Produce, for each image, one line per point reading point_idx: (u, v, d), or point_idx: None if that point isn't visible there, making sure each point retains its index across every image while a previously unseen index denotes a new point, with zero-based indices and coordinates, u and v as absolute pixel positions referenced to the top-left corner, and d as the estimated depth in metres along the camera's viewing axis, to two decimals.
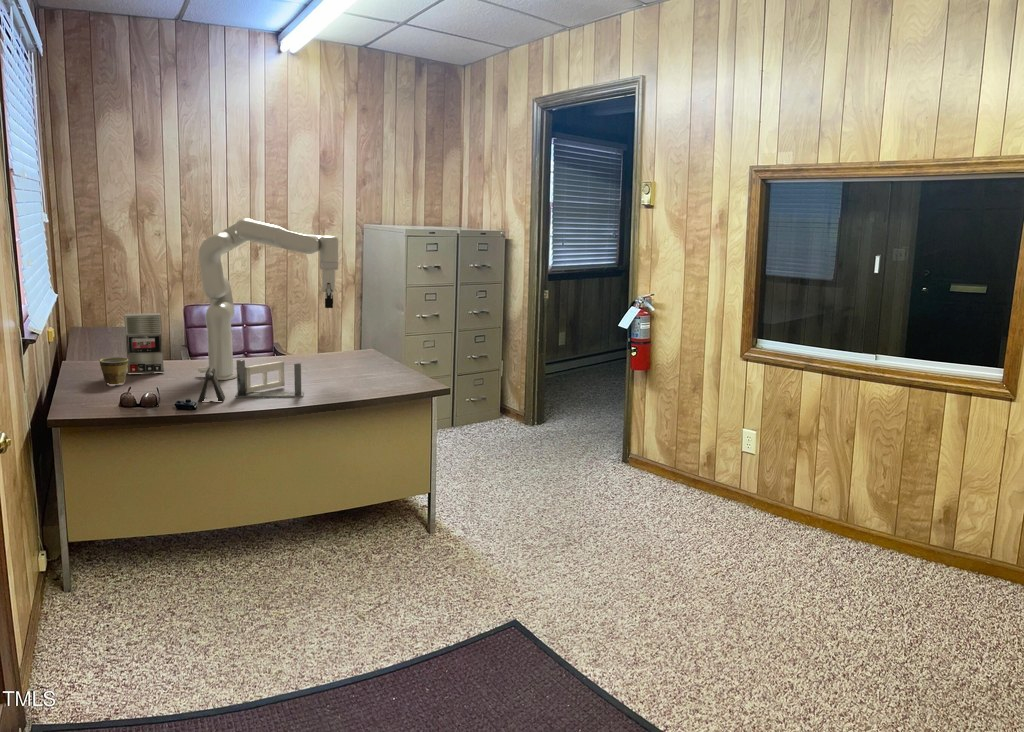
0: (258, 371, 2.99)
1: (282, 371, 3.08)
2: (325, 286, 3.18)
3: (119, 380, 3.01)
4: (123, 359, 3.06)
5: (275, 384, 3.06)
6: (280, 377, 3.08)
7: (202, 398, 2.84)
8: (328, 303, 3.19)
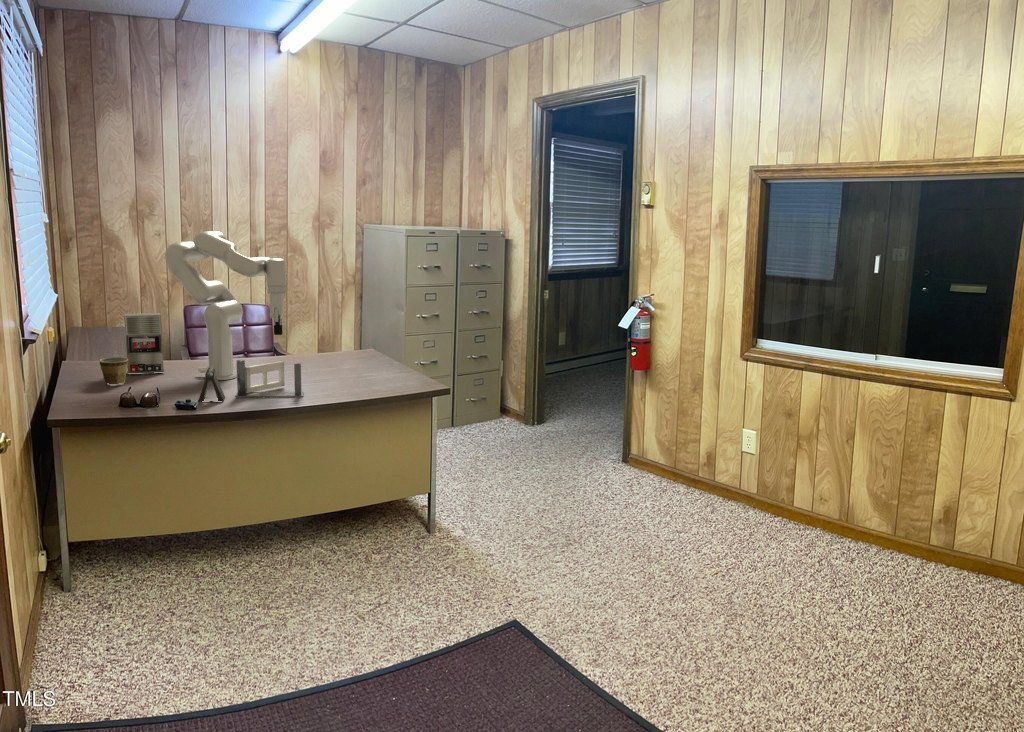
0: (258, 371, 2.99)
1: (282, 371, 3.08)
2: (272, 311, 3.04)
3: (119, 380, 3.01)
4: (123, 359, 3.06)
5: (275, 384, 3.06)
6: (280, 377, 3.08)
7: (202, 398, 2.84)
8: (277, 330, 3.10)
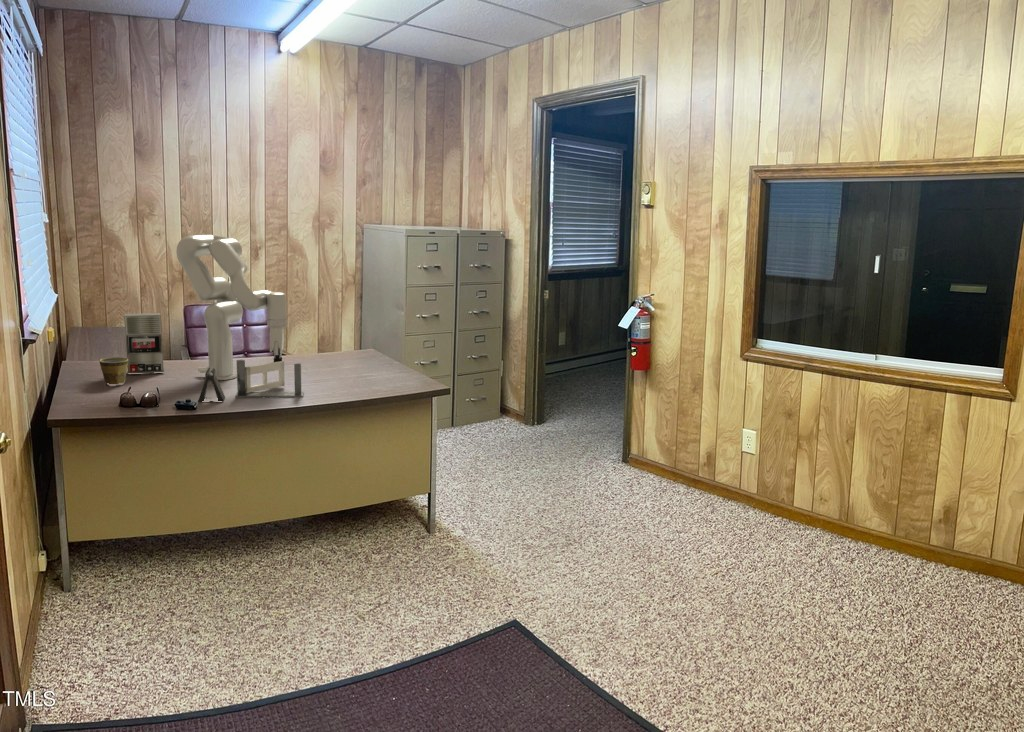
0: (258, 371, 2.99)
1: (282, 371, 3.08)
2: (272, 345, 3.07)
3: (119, 380, 3.01)
4: (123, 359, 3.06)
5: (275, 384, 3.06)
6: (280, 377, 3.08)
7: (202, 398, 2.84)
8: None
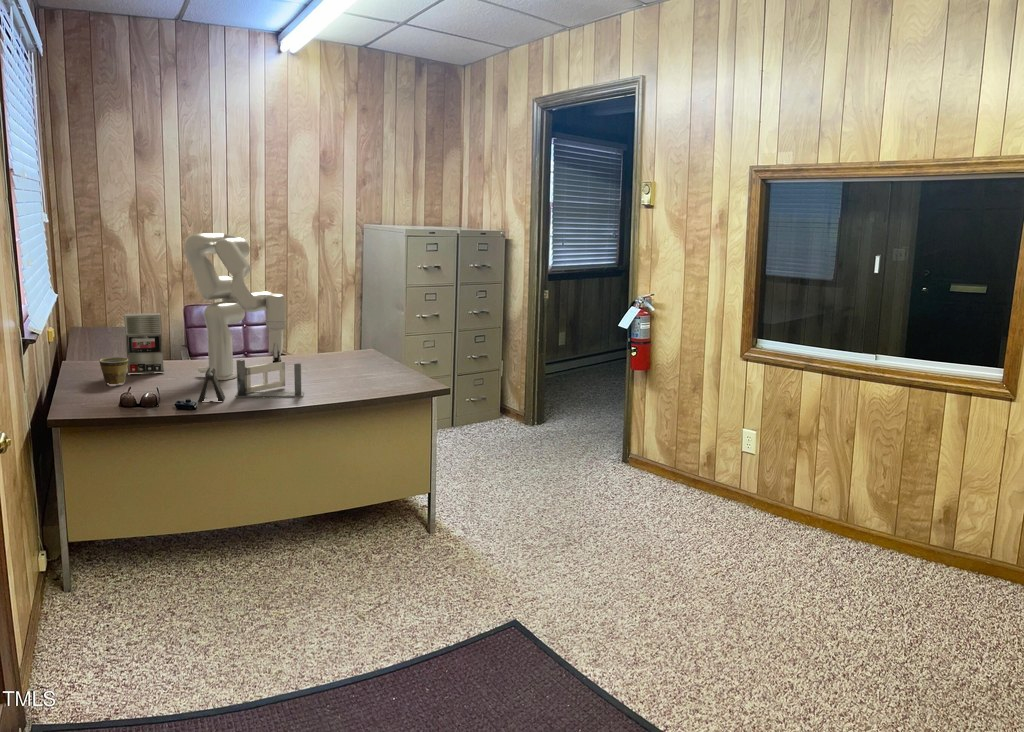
0: (258, 371, 2.99)
1: (283, 371, 3.07)
2: (272, 347, 3.02)
3: (119, 380, 3.01)
4: (123, 359, 3.06)
5: (276, 384, 3.06)
6: (281, 377, 3.08)
7: (202, 398, 2.84)
8: None
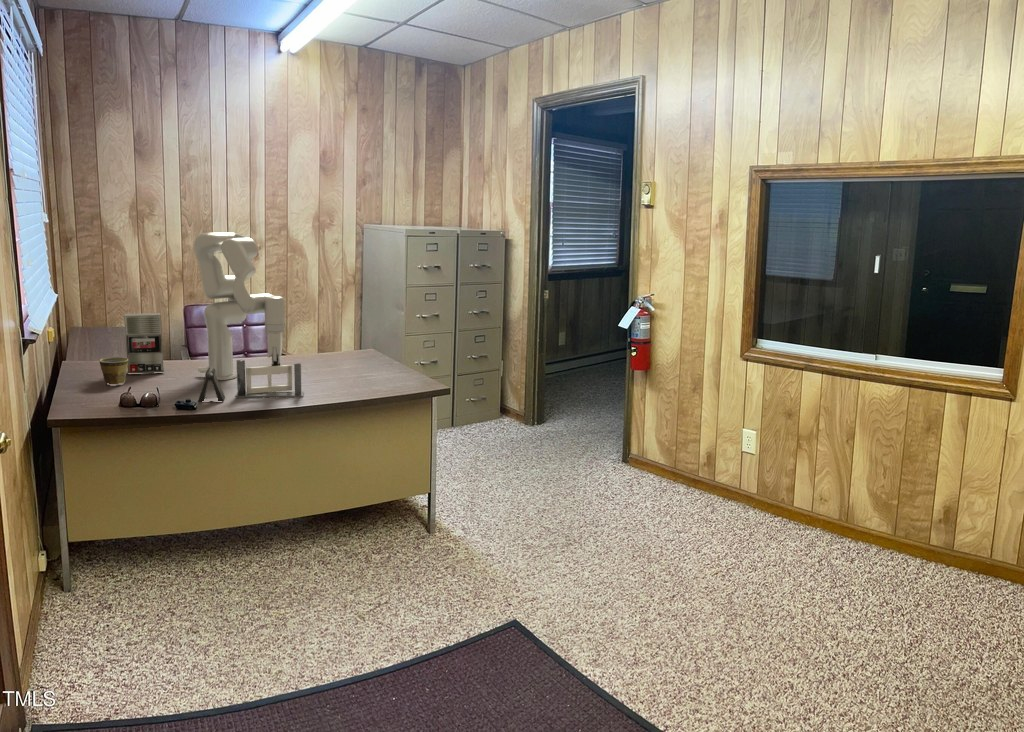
0: (260, 373, 2.96)
1: (289, 375, 3.02)
2: (271, 350, 2.96)
3: (119, 380, 3.01)
4: (123, 359, 3.06)
5: (281, 387, 3.01)
6: (288, 381, 3.03)
7: (202, 398, 2.84)
8: None
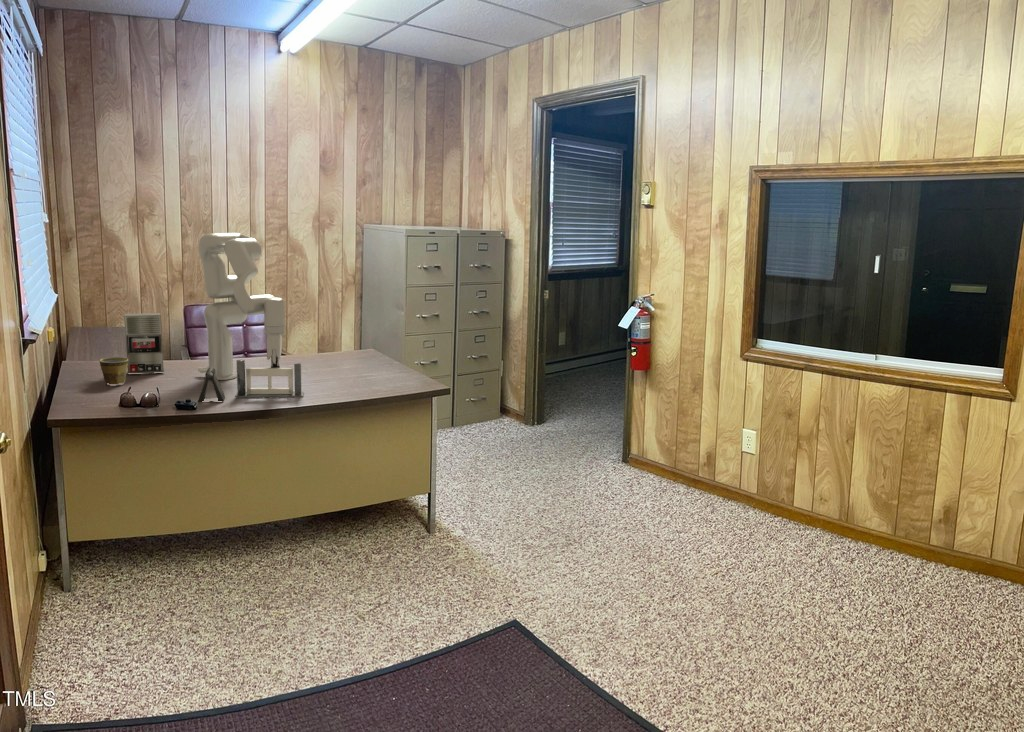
0: (260, 374, 2.95)
1: (290, 378, 2.97)
2: (270, 353, 2.92)
3: (119, 380, 3.01)
4: (123, 359, 3.06)
5: (281, 390, 2.97)
6: None
7: (202, 398, 2.84)
8: None
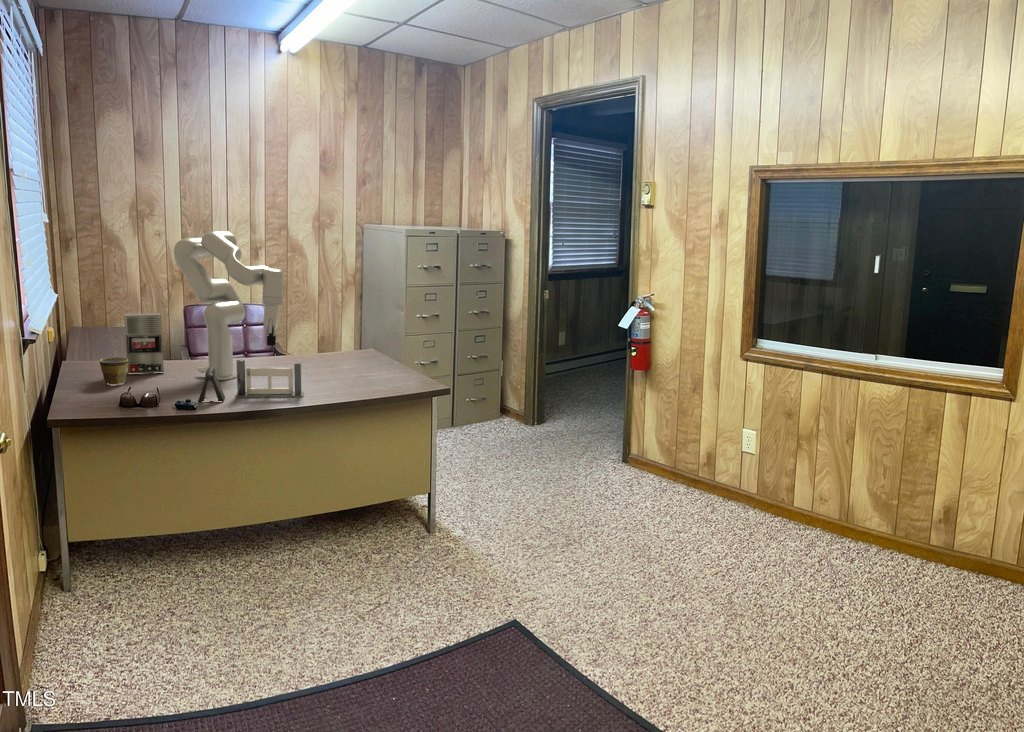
0: (260, 374, 2.95)
1: (290, 378, 2.97)
2: (266, 322, 3.01)
3: (119, 380, 3.01)
4: (123, 359, 3.06)
5: (281, 390, 2.98)
6: None
7: (202, 398, 2.84)
8: (270, 341, 3.06)
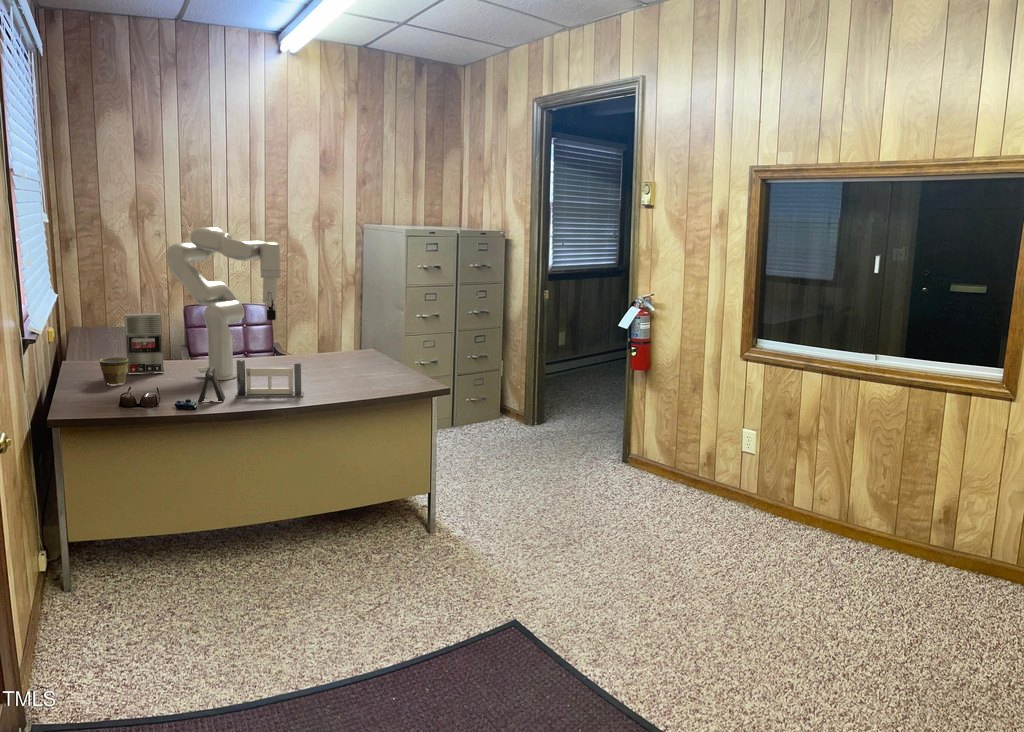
0: (260, 374, 2.95)
1: (290, 378, 2.97)
2: (266, 296, 3.01)
3: (119, 380, 3.01)
4: (123, 359, 3.06)
5: (281, 390, 2.98)
6: None
7: (202, 398, 2.84)
8: (270, 315, 3.06)
